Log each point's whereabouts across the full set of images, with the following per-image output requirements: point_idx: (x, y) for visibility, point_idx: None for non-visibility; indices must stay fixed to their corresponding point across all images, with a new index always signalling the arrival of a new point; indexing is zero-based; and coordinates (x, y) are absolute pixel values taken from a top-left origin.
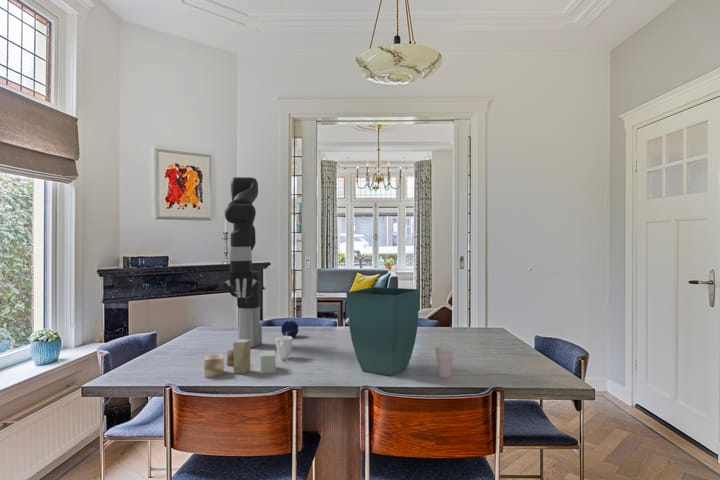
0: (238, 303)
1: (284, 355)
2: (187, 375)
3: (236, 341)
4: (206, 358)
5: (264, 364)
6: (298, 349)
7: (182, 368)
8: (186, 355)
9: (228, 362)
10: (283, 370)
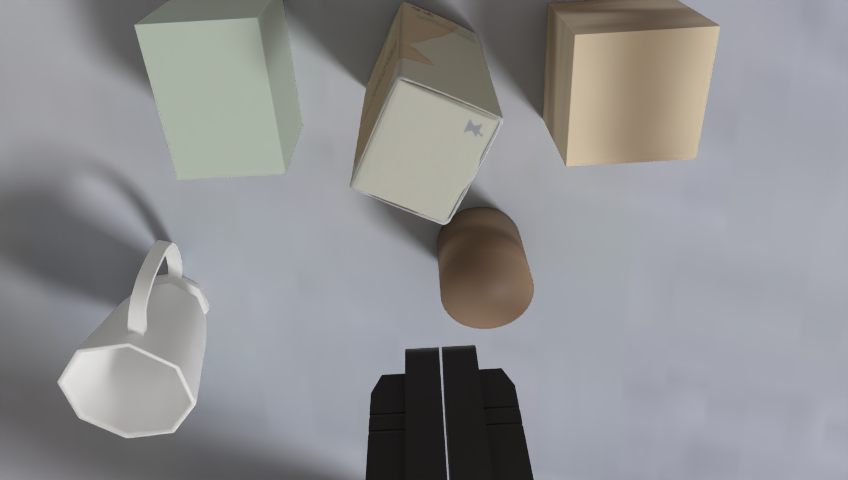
0: (496, 414)
1: (157, 286)
2: (772, 73)
3: (475, 137)
4: (699, 74)
5: (244, 4)
6: (117, 441)
7: (780, 230)
8: (730, 451)
9: (514, 229)
10: (126, 23)
